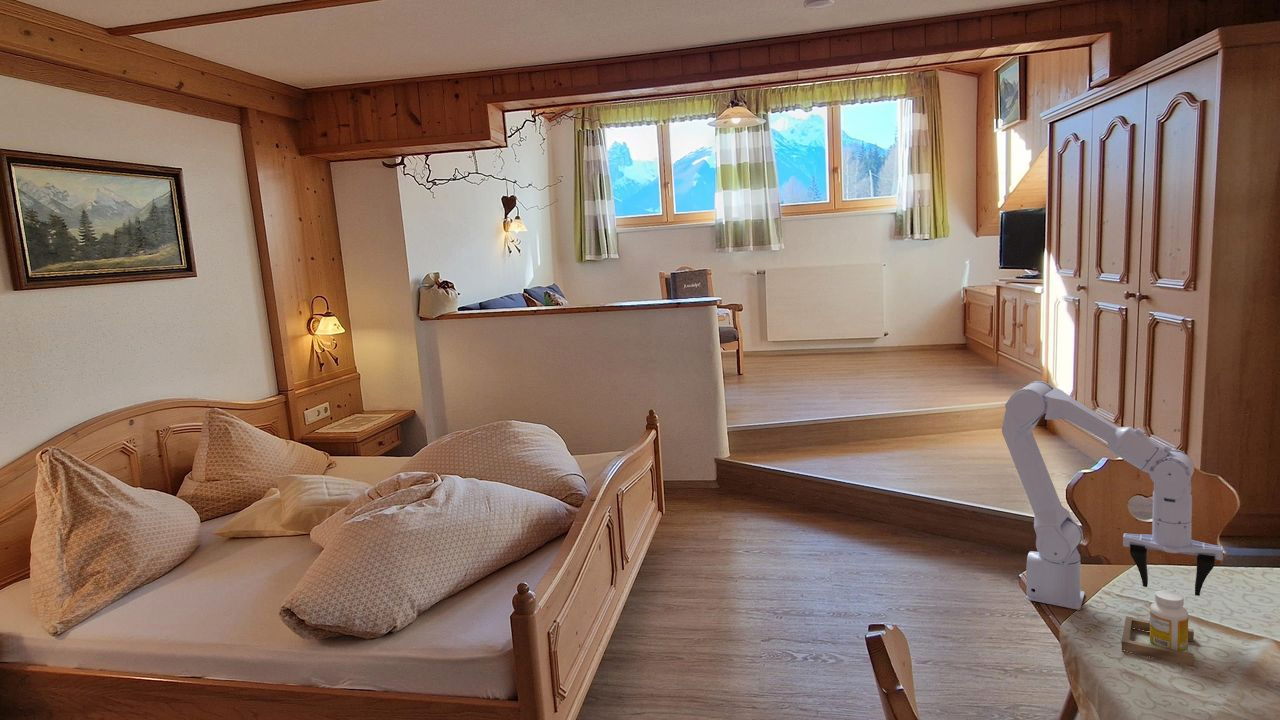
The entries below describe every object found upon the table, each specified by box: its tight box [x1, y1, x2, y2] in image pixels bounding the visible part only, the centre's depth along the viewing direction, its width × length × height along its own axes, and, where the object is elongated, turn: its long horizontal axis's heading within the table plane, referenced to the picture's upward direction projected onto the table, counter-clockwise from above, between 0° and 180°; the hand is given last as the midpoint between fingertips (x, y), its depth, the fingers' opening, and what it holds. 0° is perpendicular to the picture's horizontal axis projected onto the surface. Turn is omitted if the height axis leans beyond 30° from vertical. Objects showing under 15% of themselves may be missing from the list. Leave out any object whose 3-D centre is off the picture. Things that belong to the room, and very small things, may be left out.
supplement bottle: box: [1149, 589, 1189, 652], centre depth 125 cm, size 5×5×10 cm
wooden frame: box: [1121, 615, 1195, 667], centre depth 126 cm, size 10×10×2 cm
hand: (1170, 589), depth 131 cm, fingers open, 7 cm apart
